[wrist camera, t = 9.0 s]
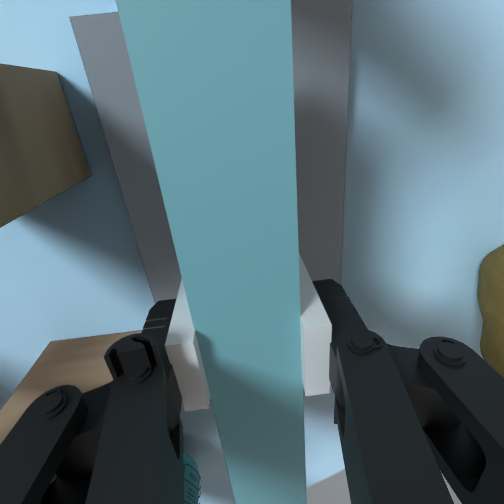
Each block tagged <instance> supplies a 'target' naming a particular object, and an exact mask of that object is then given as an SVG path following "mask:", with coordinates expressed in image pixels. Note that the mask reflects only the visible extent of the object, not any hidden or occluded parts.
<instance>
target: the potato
mask: <svg viewBox="0 0 504 504" xmlns="http://www.w3.org/2000/svg"><path fill="white" fill-rule="evenodd" d="M478 302H479V306H480V310H481V313H482V317H483V329H482V335H481V341H480V348H481V354H482V357H483V359H484V361H486V362H487V363H488V364H489V365H490V366H491V367H492V368H493V369H494V370H495V371H497V372H498V373H499V374H500V375H501V376H502V377H503V378H504V245H502V246H500V247H499V248H497V249H495V250H494V251H492V252H490V253H489V254H488V255H487V256H486V257H485V258H484V259H483V261H482V263H481V267H480V271H479V286H478Z"/></svg>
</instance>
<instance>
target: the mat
mask: <svg viewBox="0 0 504 504" xmlns="http://www.w3.org/2000/svg"><path fill="white" fill-rule="evenodd" d="M69 18H70V22H71V25H72V28H73V32H74V35H75V38H76V42H77V45H78V48H79V52H80V55H81V58H82V62H83V65H84V68H85V72H86V75H87V78H88V82H89V85H90V88H91V92H92V95H93V98H94V102H95V105H96V108H97V112H98V115H99V118H100V122H101V125H102V128H103V132H104V135H105V138H106V142H107V145H108V148H109V152H110V155H111V158H112V162H113V165H114V168H115V172H116V175H117V178H118V182H119V185H120V188H121V192H122V195H123V198H124V202H125V205H126V208H127V212H128V215H129V218H130V222H131V225H132V229H133V232H134V235H135V239H136V242H137V245H138V249H139V252H140V255H141V259H142V262H143V265H144V269H145V272H146V275H147V279H148V282H149V285H150V289H151V292H152V295H153V299H154V302H155V304H156V303H157V302H158V301H160V300H169V299H177V295H178V291H179V287H180V283H181V279H182V276H181V272H180V268H179V264H178V260H177V255H176V251H175V247H174V243H173V239H172V234H171V230H170V226H169V222H168V218H167V213H166V209H165V205H164V201H163V197H162V193H161V188H160V184H159V180H158V176H157V172H156V167H155V163H154V159H153V155H152V151H151V146H150V142H149V138H148V134H147V130H146V125H145V121H144V117H143V113H142V109H141V105H140V100H139V96H138V92H137V88H136V84H135V79H134V75H133V71H132V67H131V63H130V58H129V54H128V50H127V46H126V42H125V37H124V33H123V29H122V25H121V21H120V16H119V12H112V13H102V14H92V15H83V16H73V17H69ZM351 21H352V0H291V24H292V56H293V88H294V120H295V152H296V183H297V215H298V247H299V254H300V256H301V258H302V261H303V263H304V265H305V267H306V269H307V272H308V274H309V276H310V278H311V280H312V281H317V280H325V279H333V280H334V281H336V282H337V283H338V284H340V285H341V262H342V238H343V214H344V190H345V165H346V141H347V117H348V93H349V69H350V45H351Z"/></svg>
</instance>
